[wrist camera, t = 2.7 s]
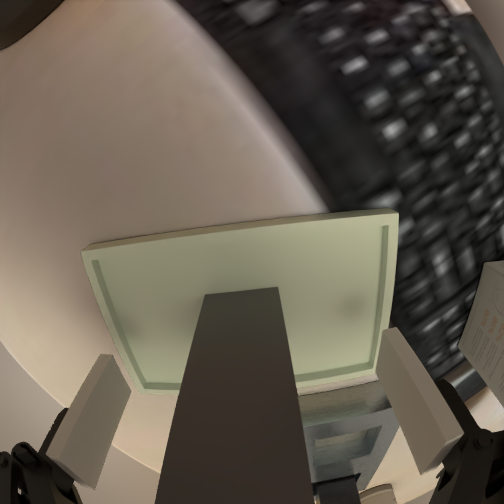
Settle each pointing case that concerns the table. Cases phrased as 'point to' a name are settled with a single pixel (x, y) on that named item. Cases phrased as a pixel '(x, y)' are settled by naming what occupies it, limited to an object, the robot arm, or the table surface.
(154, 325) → the tray
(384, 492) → the travel mug
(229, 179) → the table surface
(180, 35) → the table surface
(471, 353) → the small box
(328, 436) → the grey stand
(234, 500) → the plug
